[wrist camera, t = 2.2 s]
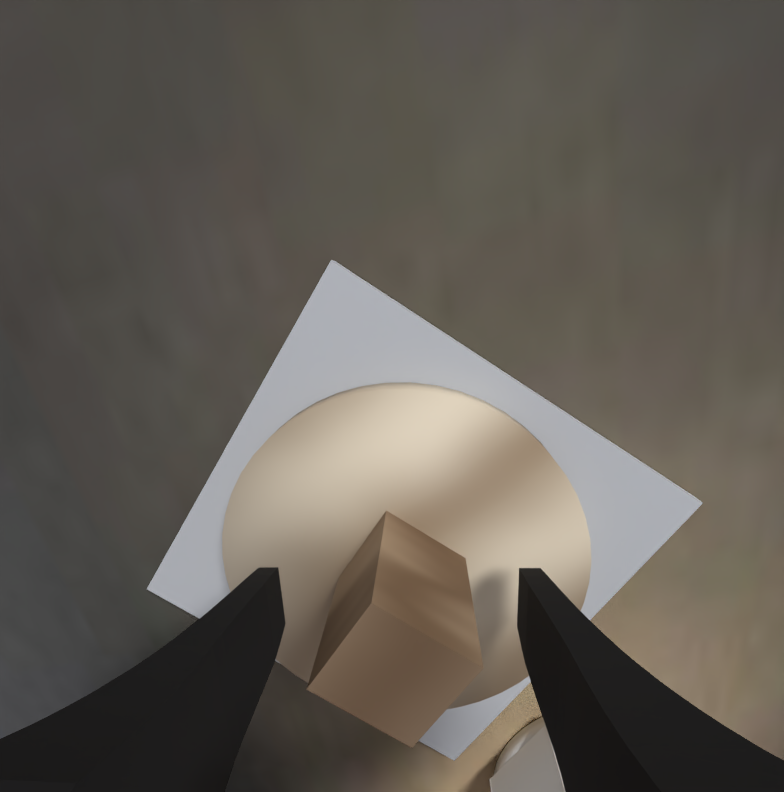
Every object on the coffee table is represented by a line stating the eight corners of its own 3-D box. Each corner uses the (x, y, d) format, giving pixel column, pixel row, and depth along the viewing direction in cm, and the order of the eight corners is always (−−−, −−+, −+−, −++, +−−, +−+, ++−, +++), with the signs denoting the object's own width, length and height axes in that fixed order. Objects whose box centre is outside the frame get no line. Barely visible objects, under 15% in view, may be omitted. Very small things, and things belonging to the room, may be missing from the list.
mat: (693, 495, 14) (703, 502, 13) (453, 747, 17) (454, 760, 17) (334, 260, 13) (331, 259, 12) (154, 580, 16) (146, 589, 16)
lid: (656, 509, 13) (789, 631, 9) (448, 734, 16) (460, 921, 12) (341, 307, 13) (292, 318, 8) (181, 584, 16) (73, 717, 11)
